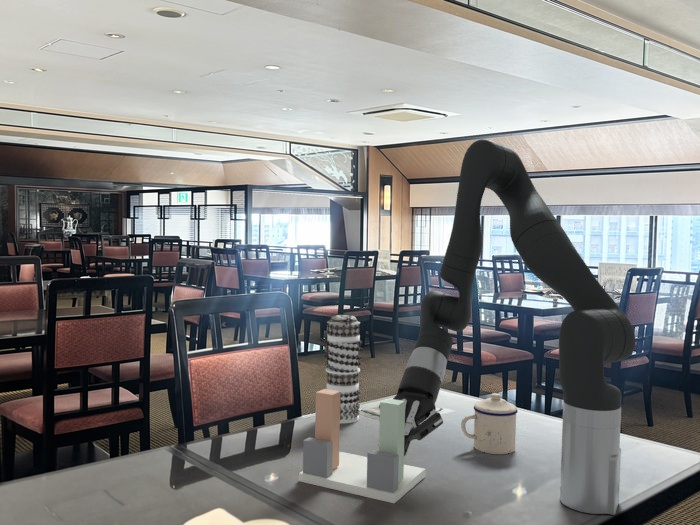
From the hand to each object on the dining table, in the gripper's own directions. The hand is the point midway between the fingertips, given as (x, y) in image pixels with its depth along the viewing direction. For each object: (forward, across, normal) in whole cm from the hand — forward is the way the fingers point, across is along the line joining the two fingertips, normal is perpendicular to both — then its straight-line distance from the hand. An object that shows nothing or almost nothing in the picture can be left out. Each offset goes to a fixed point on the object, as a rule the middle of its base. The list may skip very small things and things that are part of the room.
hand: (396, 456), depth 118 cm
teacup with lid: (-16, +8, +24) cm, 31 cm away
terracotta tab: (+4, -13, +1) cm, 14 cm away
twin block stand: (+4, -6, +4) cm, 8 cm away
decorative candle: (-18, -29, +26) cm, 43 cm away
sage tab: (+4, 0, +1) cm, 4 cm away
